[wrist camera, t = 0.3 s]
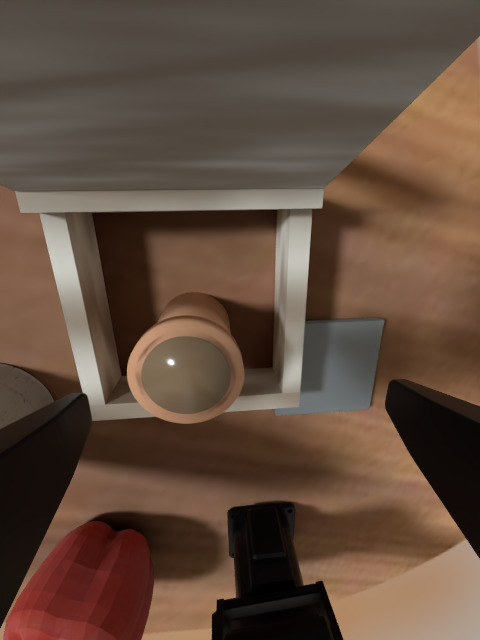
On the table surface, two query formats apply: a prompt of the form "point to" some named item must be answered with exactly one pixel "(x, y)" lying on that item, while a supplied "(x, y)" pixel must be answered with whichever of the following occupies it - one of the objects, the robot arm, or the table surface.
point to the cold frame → (201, 134)
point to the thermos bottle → (20, 394)
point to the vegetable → (87, 589)
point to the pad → (338, 365)
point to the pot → (187, 362)
